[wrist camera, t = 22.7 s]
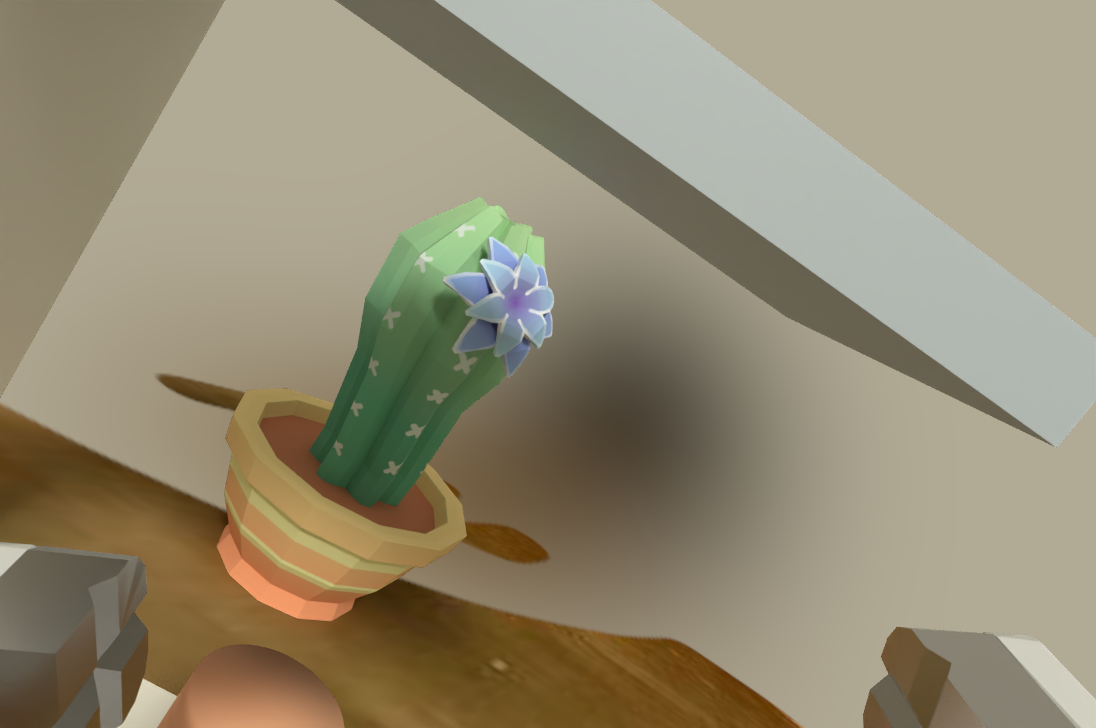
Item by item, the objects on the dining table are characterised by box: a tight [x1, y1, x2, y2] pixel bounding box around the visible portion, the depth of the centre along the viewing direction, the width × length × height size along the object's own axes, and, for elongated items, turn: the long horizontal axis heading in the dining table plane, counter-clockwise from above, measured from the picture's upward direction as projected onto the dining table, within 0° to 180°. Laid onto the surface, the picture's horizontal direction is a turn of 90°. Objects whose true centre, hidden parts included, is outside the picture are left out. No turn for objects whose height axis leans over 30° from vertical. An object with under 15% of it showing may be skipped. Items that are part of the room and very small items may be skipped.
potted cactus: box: [217, 197, 554, 621], centre depth 47 cm, size 16×15×25 cm
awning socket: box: [0, 0, 1096, 728], centre depth 22 cm, size 20×24×30 cm
